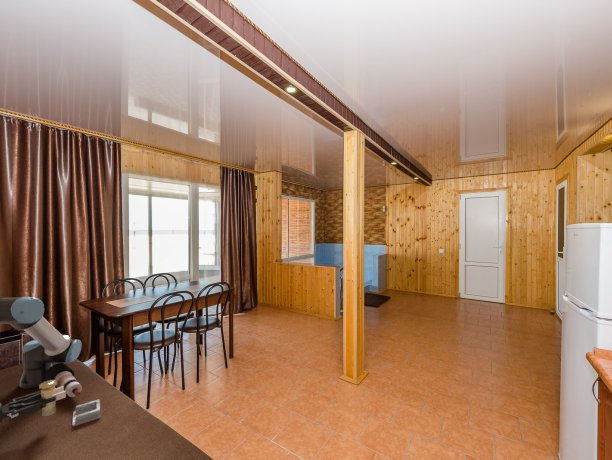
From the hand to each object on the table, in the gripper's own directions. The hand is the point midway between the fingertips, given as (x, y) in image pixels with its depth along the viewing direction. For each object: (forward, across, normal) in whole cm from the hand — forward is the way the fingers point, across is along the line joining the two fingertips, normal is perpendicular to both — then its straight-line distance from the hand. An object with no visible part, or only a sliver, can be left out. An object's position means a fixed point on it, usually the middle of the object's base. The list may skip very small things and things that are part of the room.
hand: (64, 391), depth 132 cm
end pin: (-5, 0, -7) cm, 9 cm away
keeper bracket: (+7, +2, -14) cm, 16 cm away
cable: (+4, -26, -13) cm, 29 cm away
